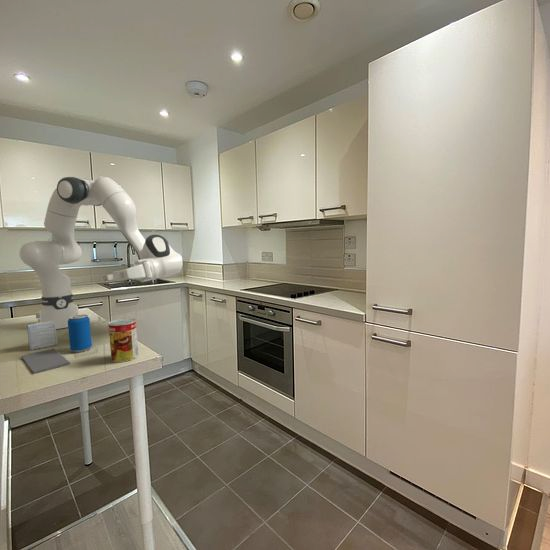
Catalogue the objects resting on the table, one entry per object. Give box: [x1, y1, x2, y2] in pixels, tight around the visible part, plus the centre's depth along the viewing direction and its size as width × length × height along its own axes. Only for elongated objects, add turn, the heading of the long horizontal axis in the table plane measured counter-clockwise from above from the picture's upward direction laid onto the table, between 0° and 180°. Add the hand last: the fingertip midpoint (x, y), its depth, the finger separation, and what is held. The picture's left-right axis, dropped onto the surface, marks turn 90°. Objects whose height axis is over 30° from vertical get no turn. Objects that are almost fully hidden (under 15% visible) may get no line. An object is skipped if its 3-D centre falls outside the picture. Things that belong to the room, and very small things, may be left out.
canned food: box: [108, 318, 139, 363], centre depth 100 cm, size 8×8×12 cm
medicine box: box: [26, 321, 58, 351], centre depth 114 cm, size 8×4×9 cm, turn 134°
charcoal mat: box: [21, 348, 71, 374], centre depth 100 cm, size 20×9×1 cm, turn 47°
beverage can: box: [67, 314, 93, 353], centre depth 108 cm, size 6×6×12 cm
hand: (104, 278), depth 114 cm, fingers open, 8 cm apart
